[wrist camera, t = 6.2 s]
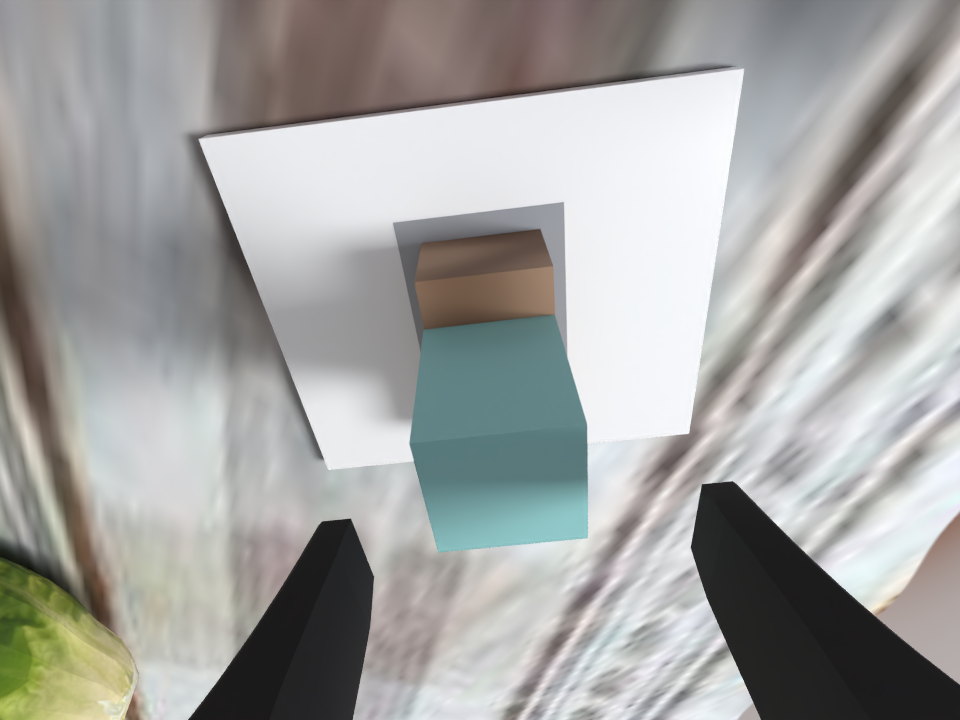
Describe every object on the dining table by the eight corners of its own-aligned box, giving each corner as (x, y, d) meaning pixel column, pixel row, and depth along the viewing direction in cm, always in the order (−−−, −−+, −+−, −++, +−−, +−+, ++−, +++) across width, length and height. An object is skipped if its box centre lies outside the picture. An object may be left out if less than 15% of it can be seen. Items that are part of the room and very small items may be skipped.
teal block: (554, 314, 16) (587, 424, 12) (558, 415, 18) (588, 537, 14) (423, 329, 16) (409, 443, 12) (444, 427, 18) (438, 552, 14)
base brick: (540, 229, 17) (553, 266, 15) (549, 413, 22) (560, 465, 19) (421, 243, 17) (414, 282, 15) (454, 422, 22) (453, 475, 19)
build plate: (735, 66, 15) (744, 68, 15) (684, 424, 23) (688, 433, 23) (206, 135, 16) (198, 139, 15) (331, 460, 24) (328, 470, 23)
